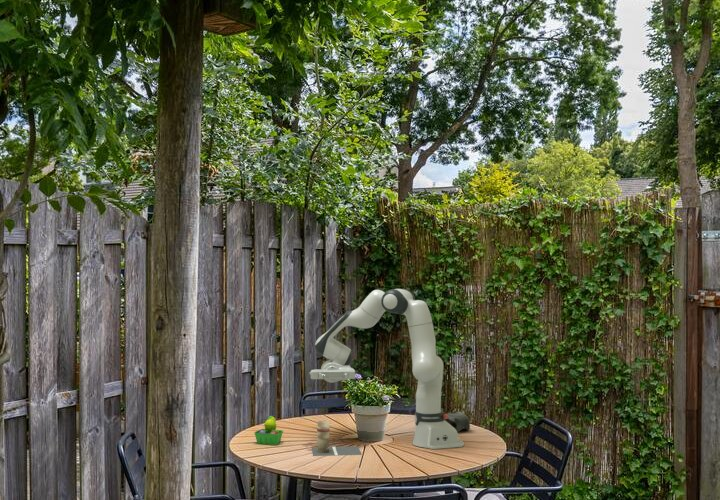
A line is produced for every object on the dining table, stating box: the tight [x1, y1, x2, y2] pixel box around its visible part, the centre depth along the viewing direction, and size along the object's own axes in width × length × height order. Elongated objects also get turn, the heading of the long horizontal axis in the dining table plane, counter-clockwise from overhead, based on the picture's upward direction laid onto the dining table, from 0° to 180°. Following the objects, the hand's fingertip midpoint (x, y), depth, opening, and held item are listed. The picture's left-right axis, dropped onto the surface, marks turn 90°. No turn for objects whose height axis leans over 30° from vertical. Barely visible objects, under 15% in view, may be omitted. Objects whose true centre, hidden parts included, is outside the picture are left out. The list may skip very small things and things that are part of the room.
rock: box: [445, 411, 471, 433], centre depth 317 cm, size 18×11×8 cm, turn 12°
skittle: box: [316, 420, 330, 453], centre depth 268 cm, size 5×5×12 cm
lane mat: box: [311, 445, 363, 457], centre depth 268 cm, size 20×14×1 cm
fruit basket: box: [253, 415, 284, 446], centre depth 287 cm, size 11×9×11 cm
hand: (334, 376), depth 283 cm, fingers open, 8 cm apart
